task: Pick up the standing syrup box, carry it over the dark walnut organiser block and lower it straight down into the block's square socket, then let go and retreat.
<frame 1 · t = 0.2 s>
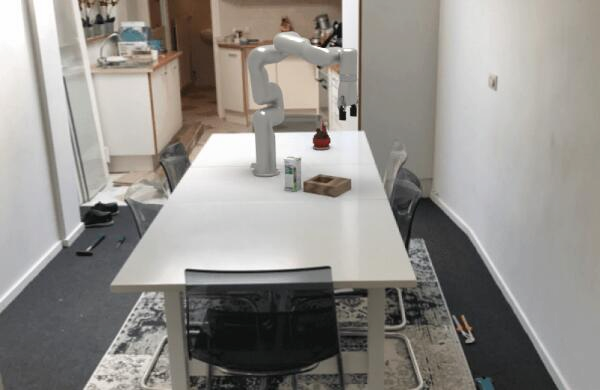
hand: (348, 118, 280), 31 cm above the table, tool pointing down, fingers open, 9 cm apart
syrup box: (293, 189, 287), on the table
walnut organiser: (327, 190, 285), on the table
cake: (321, 149, 359), on the table
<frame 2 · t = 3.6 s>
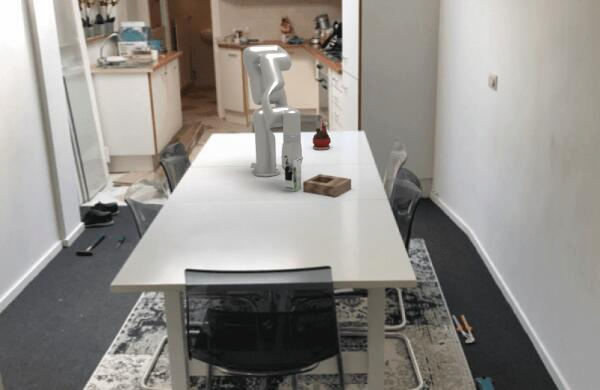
hand: (292, 178, 286), 5 cm above the table, tool pointing down, fingers closed on syrup box, 6 cm apart
syrup box: (293, 189, 287), on the table, touching gripper
everything else where it was.
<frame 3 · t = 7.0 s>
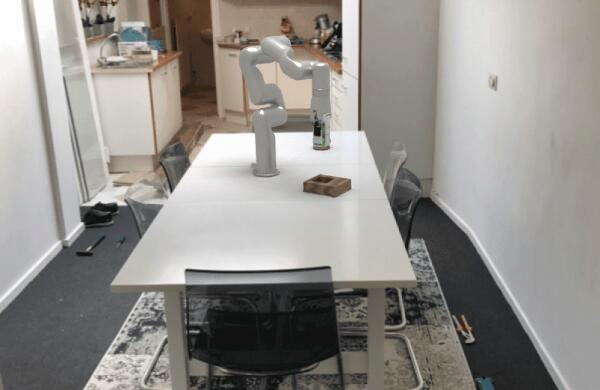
hand: (321, 134, 278), 25 cm above the table, tool pointing down, fingers closed on syrup box, 6 cm apart
syrup box: (321, 146, 280), point 19 cm above the table, touching gripper
everything else where it was.
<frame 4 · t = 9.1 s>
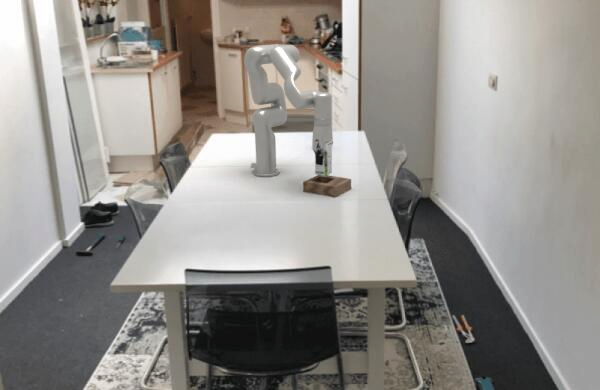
hand: (323, 162, 282), 12 cm above the table, tool pointing down, fingers closed on syrup box, 6 cm apart
syrup box: (323, 174, 284), point 7 cm above the table, touching gripper
everything else where it was.
when the fingers open (7 cm above the table, at t = 10.7 s): syrup box drops 2 cm, resting in walnut organiser.
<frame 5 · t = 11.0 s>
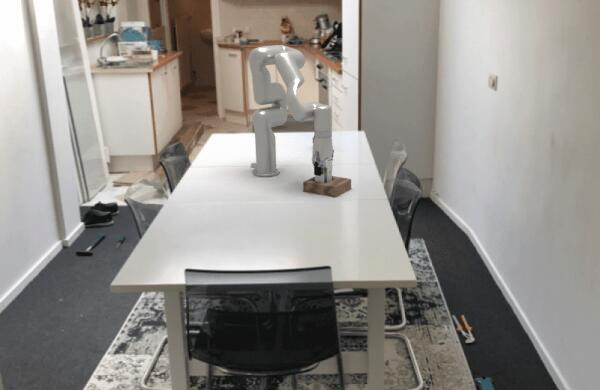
hand: (323, 172, 284), 8 cm above the table, tool pointing down, fingers open, 9 cm apart
syrup box: (323, 189, 286), resting in walnut organiser
everything else where it was.
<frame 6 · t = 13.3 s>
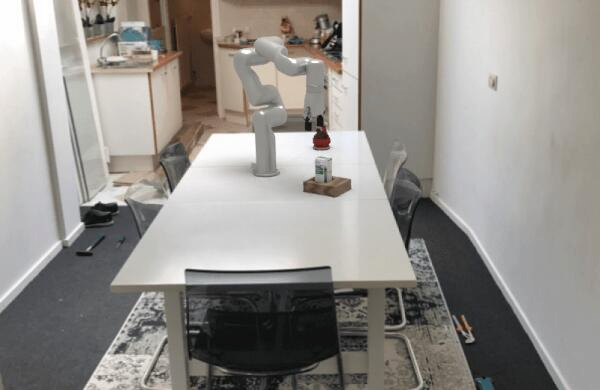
hand: (314, 128, 282), 26 cm above the table, tool pointing down, fingers open, 9 cm apart
nothing on the table moved.
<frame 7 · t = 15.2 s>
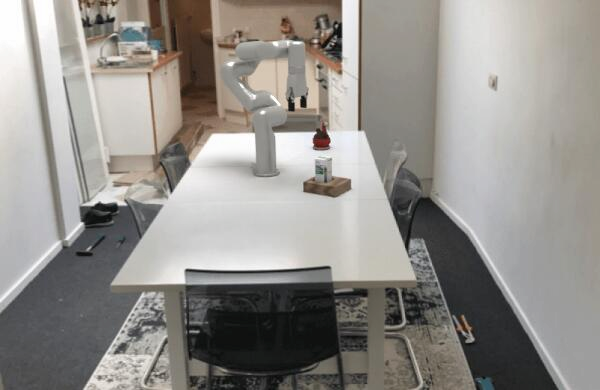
hand: (297, 109, 288), 33 cm above the table, tool pointing down, fingers open, 9 cm apart
nothing on the table moved.
at the end: syrup box 0.3 cm from the target spot on the walnut organiser, point 0.0 cm above the walnut organiser's base; syrup box tilted 0°; the gripper is holding nothing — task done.
